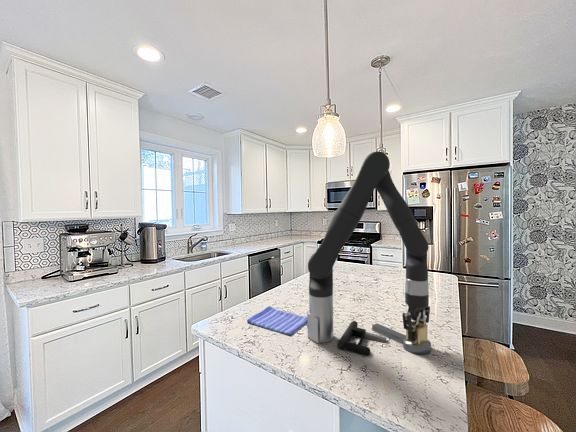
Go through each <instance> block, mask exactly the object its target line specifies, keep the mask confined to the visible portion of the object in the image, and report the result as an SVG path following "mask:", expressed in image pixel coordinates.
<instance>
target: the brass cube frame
mask: <svg viewBox="0 0 576 432" xmlns="http://www.w3.org/2000/svg"><path fill="white" fill-rule="evenodd" d="M412 321H413V322H415V321H414V320H412ZM412 327H413V324H412ZM428 331H429V329H428V325H427V324H426V325H425V324H423V323H420V322H418V325H416V329H415V341H414V342H412V341H410V340H409V339H408V330H406V329H405V335H406V341H409V342H411V343H413V344H415V345H418V346H421V345H423V344H425V343H427V339H428V333H429V332H428Z"/></svg>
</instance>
